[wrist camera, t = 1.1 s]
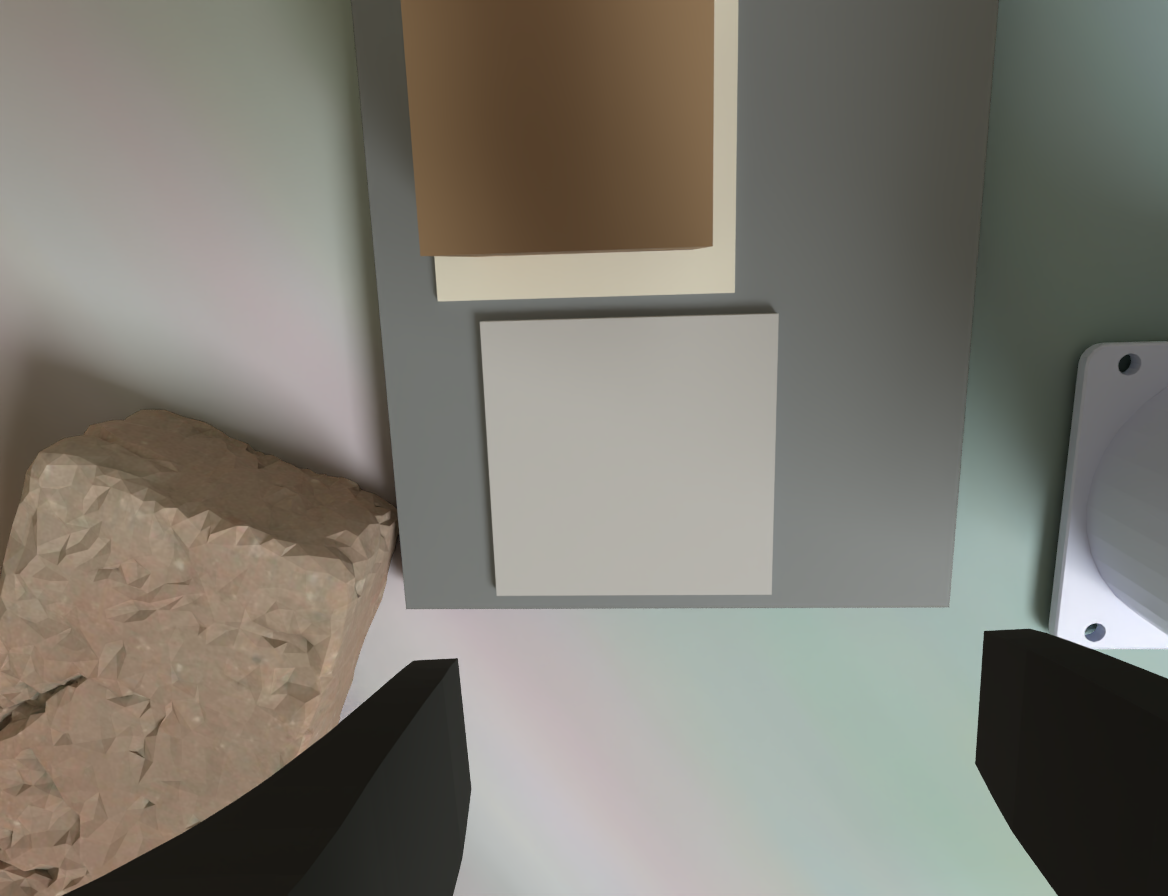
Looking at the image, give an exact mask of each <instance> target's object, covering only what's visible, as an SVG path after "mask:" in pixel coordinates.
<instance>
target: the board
mask: <svg viewBox="0 0 1168 896" xmlns="http://www.w3.org/2000/svg"><path fill="white" fill-rule="evenodd" d="M998 3H999V0H714V135H713V246H712V247H706V248H700V249H693V250H671V251H640V252H610V253H580V254H550V255H520V256H489V257H448V256H420V244H419V231H418V219H417V206H416V193H415V180H414V167H413V154H412V141H411V128H410V115H409V102H408V89H407V76H406V63H405V51H404V38H403V25H402V12H401V0H351V4H352V15H353V26H354V38H355V49H356V60H357V71H358V82H359V93H360V104H361V115H362V126H363V137H364V148H365V159H366V170H367V181H368V192H369V203H370V214H371V225H372V236H373V247H374V258H375V269H376V280H377V292H378V303H379V314H380V325H381V336H382V347H383V358H384V369H385V380H386V391H387V402H388V413H389V424H390V435H391V446H392V457H393V468H394V479H395V490H396V501H397V512H398V523H399V534H400V546H401V557H402V568H403V579H404V590H405V601H406V609H578V608H905V607H949V602H950V590H951V578H952V566H953V554H954V541H955V529H956V517H957V505H958V492H959V480H960V468H961V456H962V443H963V431H964V419H965V407H966V394H967V382H968V370H969V358H970V346H971V333H972V321H973V309H974V297H975V284H976V272H977V260H978V248H979V235H980V223H981V211H982V199H983V187H984V174H985V162H986V150H987V138H988V125H989V113H990V101H991V89H992V76H993V64H994V52H995V40H996V28H997V15H998ZM751 313H778V314H779V323H778V363H777V402H776V441H775V481H774V520H773V560H772V595H574V596H497V594H496V578H495V562H494V545H493V529H492V513H491V497H490V481H489V464H488V448H487V432H486V416H485V399H484V383H483V367H482V351H481V334H480V322H481V321H498V320H534V319H570V318H607V317H643V316H679V315H715V314H751Z"/></svg>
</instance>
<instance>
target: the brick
mask: <svg viewBox="0 0 1168 896" xmlns="http://www.w3.org/2000/svg"><path fill="white" fill-rule="evenodd" d="M398 533H399V523H398V512H397V508H395V507H394V506H393V505H391V504H390V503H388V502H387V501H385V500H384V499H382V498H381V497H379V496H378V495H376V494H373V493H369V492H366V491H363V490H362V489H361V488H359V486H358V484H357V483H355V482H353V481H351V480H349V479H346V478H343V477H340V478H338V477H333V476H327V475H326V474H319V475H318V474H316V473H314V472H313V471H311V470H309V469H299V468H297V467H296V466H294V465H292V464H289V463H287V462H284V461H282V460H280V459H279V458H277V457H275V456H273V455H265V454H264V453H262V452H256V451H255V450H253V449H252V448H251V446H250V445H249V444H246V443H244V442H242V441H239V440H236V439H233V438H230V437H228V436H227V435H226V434H224V433H223V432H222V431H220V430H218V429H217V428H215V427H213V426H211V425H209V424H207V423H205V422H202V421H199V420H195V419H190V418H186V417H183V416H180V415H178V414H175V413H172V412H169V411H167V410H140V411H138V412H136V413H134V414H132V415H130V416H129V417H127V418H126V419H125V420H110V421H106V422H102V423H98V424H93V425H89V427H88V429H87V430H86V432H85V433H84V435H79V436H74V437H69V438H63V439H62V440H60V441H58V442H56V443H55V444H53V445H51V446H49V447H48V448H46V449H44V450H42V451H41V452H39V453H38V455H37V457H36V458H35V460H34V461H33V462H32V464H31V465H30V467H29V468H28V470H27V472H26V476H25V481H24V486H23V491H22V495H21V499H20V503H19V506H18V509H17V512H16V516H15V519H14V522H13V525H12V528H11V532H10V536H9V541H8V545H7V549H6V553H5V557H4V562H3V567H2V572H1V576H0V896H62V895H64V894H66V893H68V892H70V891H72V890H75V889H77V888H79V887H81V886H83V885H85V884H87V883H89V882H91V881H93V880H96V879H98V878H100V877H102V876H104V875H105V874H107V873H109V872H111V871H113V870H115V869H117V868H118V867H120V866H122V865H124V864H126V863H128V862H130V861H131V860H133V859H135V858H137V857H139V856H141V855H143V854H145V853H146V852H148V851H150V850H152V849H154V848H156V847H158V846H159V845H161V844H163V843H165V842H167V841H169V840H171V839H172V838H174V837H176V836H178V835H180V834H182V833H183V832H185V831H187V830H189V829H190V828H192V827H194V826H195V825H197V824H199V823H200V822H202V821H203V820H205V819H207V818H208V817H210V816H211V815H213V814H215V813H216V812H218V811H219V810H221V809H223V808H224V807H226V806H227V805H229V804H231V803H232V802H234V801H235V800H237V799H238V798H240V797H241V796H243V795H244V794H246V793H247V792H249V791H250V790H252V789H253V788H255V787H256V786H258V785H259V784H261V783H262V782H263V781H265V780H266V779H268V778H269V777H271V776H272V775H273V774H275V773H276V772H277V771H279V770H280V769H281V768H282V767H284V766H285V765H286V764H288V763H289V762H290V761H292V760H293V759H294V758H296V757H297V756H298V755H299V754H301V753H302V752H303V751H305V750H306V749H307V748H309V747H310V746H311V745H313V744H314V743H315V742H316V741H318V740H319V739H320V738H322V737H323V736H324V735H326V734H327V733H328V732H329V731H331V730H332V729H333V728H334V727H335V726H337V725H338V722H339V720H340V713H341V711H342V708H343V705H344V702H345V699H346V696H347V694H348V691H349V689H350V686H351V684H352V681H353V676H354V670H355V667H356V663H357V660H358V657H359V654H360V651H361V648H362V645H363V642H364V639H365V637H366V634H367V632H368V629H369V627H370V625H371V623H372V620H373V618H374V616H375V613H376V611H377V609H378V607H379V605H380V602H381V600H382V596H383V593H384V589H385V586H386V581H387V574H388V570H389V566H390V562H391V558H392V554H393V552H394V550H395V545H396V541H397V537H398Z"/></svg>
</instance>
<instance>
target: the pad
mask: <svg viewBox="0 0 1168 896" xmlns="http://www.w3.org/2000/svg"><path fill="white" fill-rule="evenodd" d="M778 323H779V314H778V313H751V314H715V315H679V316H643V317H607V318H570V319H534V320H498V321H481V322H480V334H481V351H482V367H483V383H484V399H485V416H486V432H487V448H488V464H489V481H490V497H491V513H492V529H493V545H494V562H495V578H496V594H497V596H574V595H772V560H773V520H774V481H775V441H776V402H777V363H778Z"/></svg>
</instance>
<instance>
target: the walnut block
mask: <svg viewBox="0 0 1168 896" xmlns="http://www.w3.org/2000/svg"><path fill="white" fill-rule="evenodd" d="M401 12H402V25H403V38H404V51H405V63H406V76H407V89H408V102H409V115H410V128H411V141H412V154H413V167H414V180H415V193H416V206H417V219H418V231H419V244H420V256H448V257H489V256H520V255H550V254H580V253H610V252H640V251H671V250H693V249H700V248H706V247H712V246H713V135H714V0H401Z"/></svg>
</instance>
